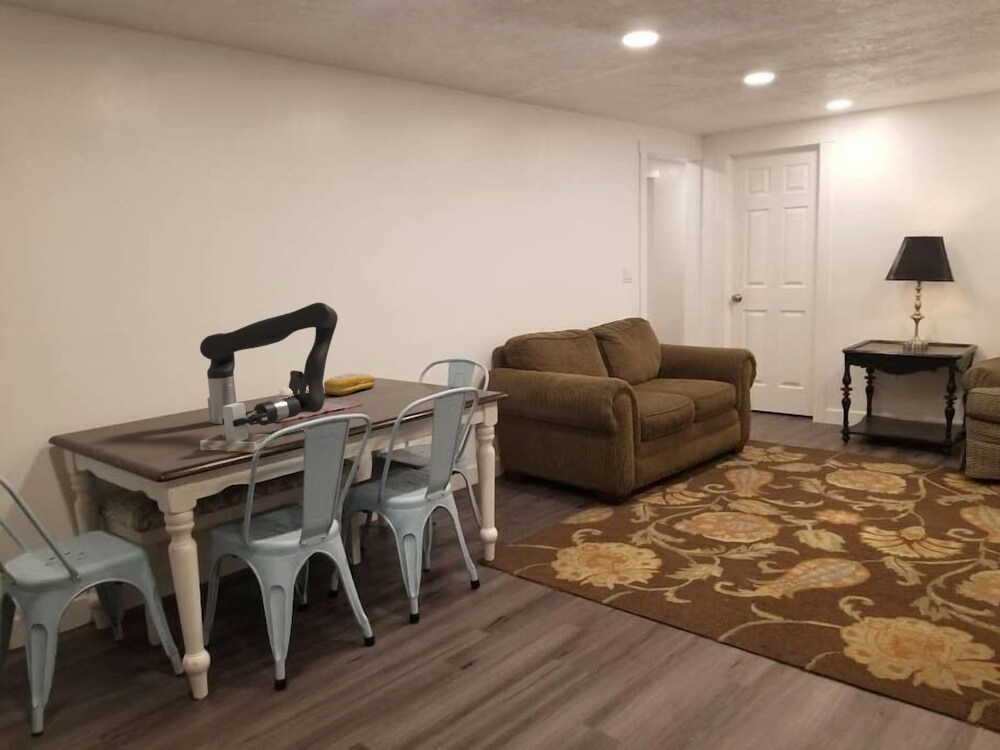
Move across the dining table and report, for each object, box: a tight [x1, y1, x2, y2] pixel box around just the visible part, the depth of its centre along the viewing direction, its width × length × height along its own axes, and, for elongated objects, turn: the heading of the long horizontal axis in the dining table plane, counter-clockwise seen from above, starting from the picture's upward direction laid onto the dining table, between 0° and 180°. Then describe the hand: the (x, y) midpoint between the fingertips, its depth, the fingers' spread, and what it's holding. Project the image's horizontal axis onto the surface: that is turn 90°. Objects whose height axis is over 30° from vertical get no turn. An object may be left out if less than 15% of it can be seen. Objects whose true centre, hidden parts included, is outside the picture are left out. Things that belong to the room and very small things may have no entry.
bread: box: [323, 373, 376, 397], centre depth 335 cm, size 13×26×8 cm, turn 154°
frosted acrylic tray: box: [199, 432, 271, 453], centre depth 244 cm, size 20×11×3 cm, turn 75°
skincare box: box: [222, 402, 249, 442], centre depth 243 cm, size 6×4×12 cm
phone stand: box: [288, 369, 308, 395], centre depth 323 cm, size 9×6×12 cm, turn 136°
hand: (228, 422), depth 240 cm, fingers closed on skincare box, 5 cm apart
